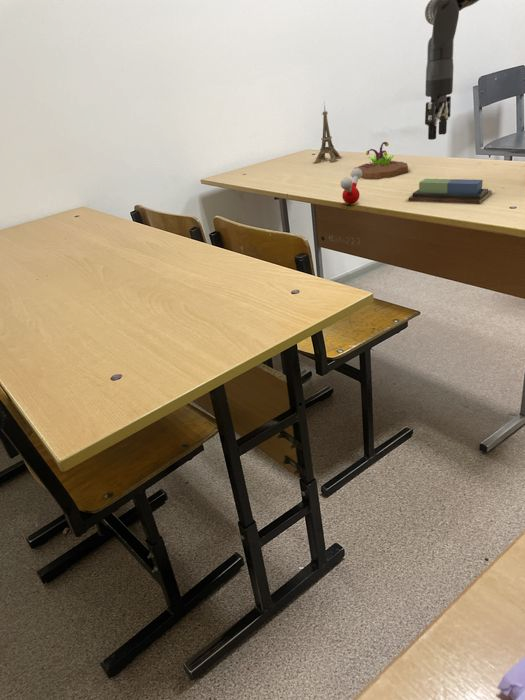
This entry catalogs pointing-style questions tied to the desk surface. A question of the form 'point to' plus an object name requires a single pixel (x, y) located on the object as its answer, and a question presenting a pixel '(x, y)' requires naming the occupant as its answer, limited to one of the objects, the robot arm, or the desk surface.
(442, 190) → the green rectangular block
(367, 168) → the plant
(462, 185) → the blue rectangular block
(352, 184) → the molecular model
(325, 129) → the eiffel tower
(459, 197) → the dark wooden tray
